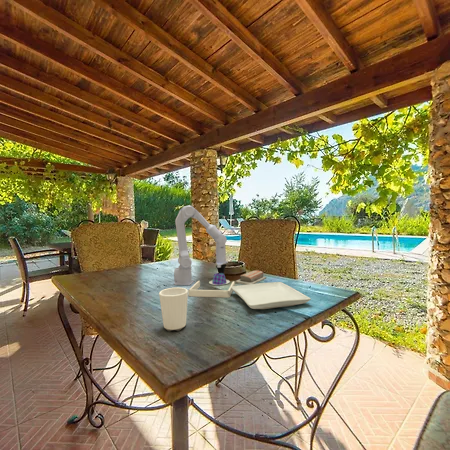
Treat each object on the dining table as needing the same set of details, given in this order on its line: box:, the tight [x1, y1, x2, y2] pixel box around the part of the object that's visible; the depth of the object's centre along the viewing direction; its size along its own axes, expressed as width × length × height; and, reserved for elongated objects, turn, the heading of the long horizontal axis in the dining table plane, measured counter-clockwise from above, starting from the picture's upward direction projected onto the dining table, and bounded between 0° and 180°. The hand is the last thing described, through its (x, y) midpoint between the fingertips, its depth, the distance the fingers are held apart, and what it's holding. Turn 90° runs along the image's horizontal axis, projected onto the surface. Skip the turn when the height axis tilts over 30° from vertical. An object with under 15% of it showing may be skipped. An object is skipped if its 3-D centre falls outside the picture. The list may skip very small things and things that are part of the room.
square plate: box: [231, 281, 312, 310], centre depth 116 cm, size 27×27×4 cm
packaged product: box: [235, 270, 267, 285], centre depth 149 cm, size 18×5×10 cm
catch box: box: [187, 280, 236, 299], centre depth 130 cm, size 20×17×3 cm
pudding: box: [208, 272, 231, 286], centre depth 146 cm, size 12×12×5 cm
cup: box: [158, 286, 189, 333], centre depth 90 cm, size 10×10×13 cm
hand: (221, 277), depth 153 cm, fingers closed
